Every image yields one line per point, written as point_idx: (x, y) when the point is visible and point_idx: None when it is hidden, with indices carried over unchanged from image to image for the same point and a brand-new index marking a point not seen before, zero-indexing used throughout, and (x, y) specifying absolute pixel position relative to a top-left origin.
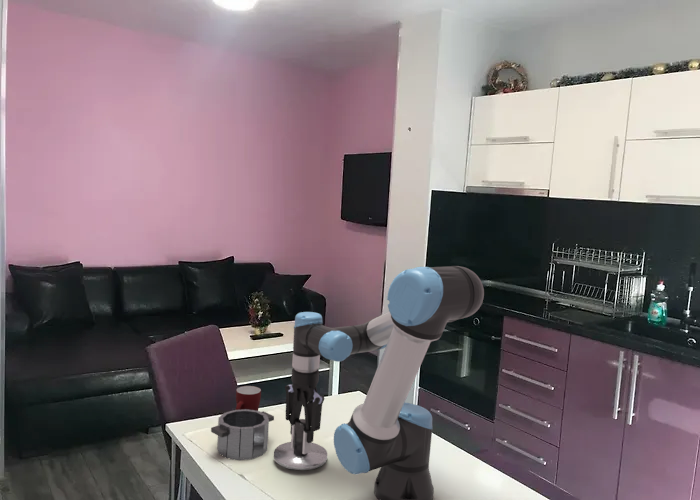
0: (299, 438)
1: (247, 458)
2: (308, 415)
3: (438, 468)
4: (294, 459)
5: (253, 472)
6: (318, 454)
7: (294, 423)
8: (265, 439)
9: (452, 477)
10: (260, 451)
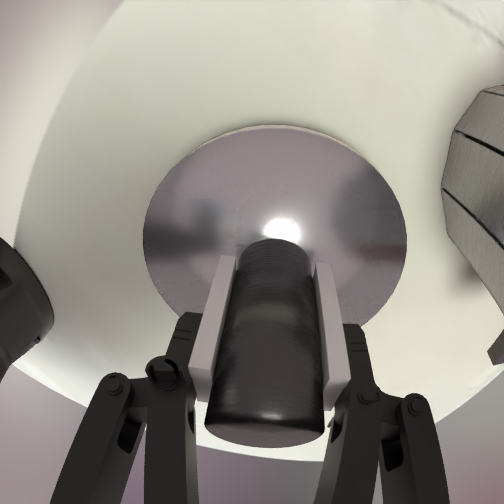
0: (248, 312)
1: (467, 115)
2: (146, 494)
3: (73, 377)
4: (243, 199)
5: (366, 27)
6: (205, 303)
7: (342, 398)
8: (474, 240)
9: (46, 363)
10: (455, 180)
